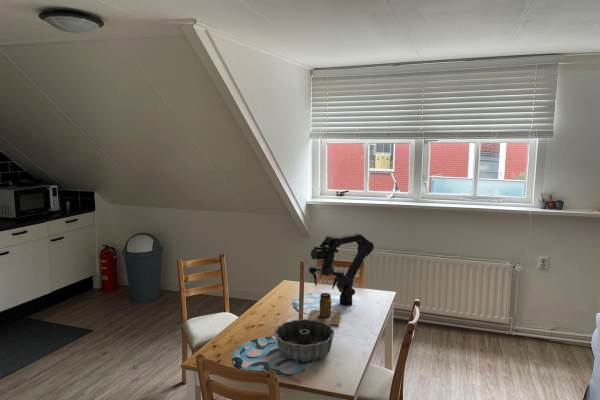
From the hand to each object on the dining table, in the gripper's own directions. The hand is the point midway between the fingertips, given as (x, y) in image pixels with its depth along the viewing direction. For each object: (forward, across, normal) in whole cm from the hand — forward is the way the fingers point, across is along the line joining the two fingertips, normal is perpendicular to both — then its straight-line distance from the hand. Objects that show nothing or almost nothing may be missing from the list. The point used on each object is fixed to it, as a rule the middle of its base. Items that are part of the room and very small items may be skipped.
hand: (324, 287), depth 242 cm
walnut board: (+13, +4, -11) cm, 18 cm away
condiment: (+12, +4, -11) cm, 17 cm away
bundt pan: (+18, 0, -47) cm, 51 cm away
